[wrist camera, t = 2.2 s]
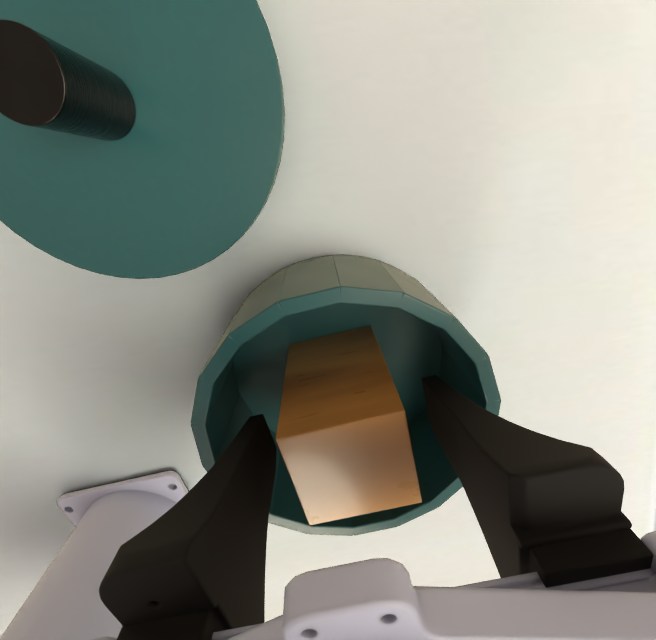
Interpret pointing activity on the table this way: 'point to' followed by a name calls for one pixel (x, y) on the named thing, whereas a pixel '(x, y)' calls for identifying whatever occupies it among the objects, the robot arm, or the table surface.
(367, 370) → the maple block
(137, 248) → the pot lid
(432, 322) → the pot
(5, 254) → the table surface
